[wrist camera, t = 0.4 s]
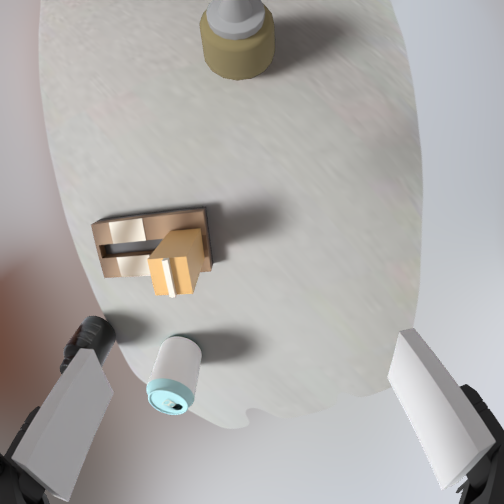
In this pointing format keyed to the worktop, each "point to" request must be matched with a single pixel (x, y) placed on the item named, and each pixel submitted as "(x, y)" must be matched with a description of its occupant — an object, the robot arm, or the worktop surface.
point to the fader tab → (177, 262)
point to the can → (174, 376)
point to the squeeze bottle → (237, 38)
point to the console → (144, 239)
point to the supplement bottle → (90, 340)
